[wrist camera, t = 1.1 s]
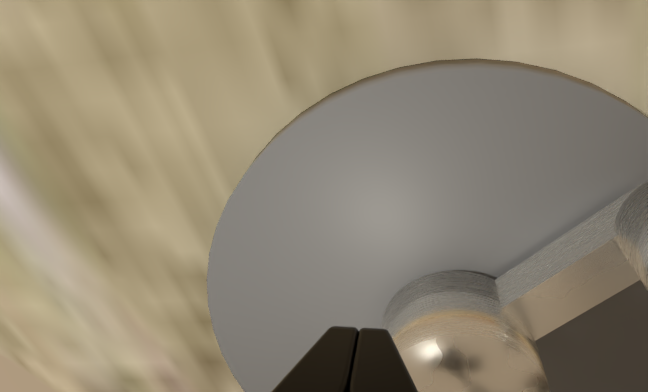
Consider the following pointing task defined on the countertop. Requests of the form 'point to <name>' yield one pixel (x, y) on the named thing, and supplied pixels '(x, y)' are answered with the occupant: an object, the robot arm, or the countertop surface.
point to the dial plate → (426, 212)
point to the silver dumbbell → (516, 305)
